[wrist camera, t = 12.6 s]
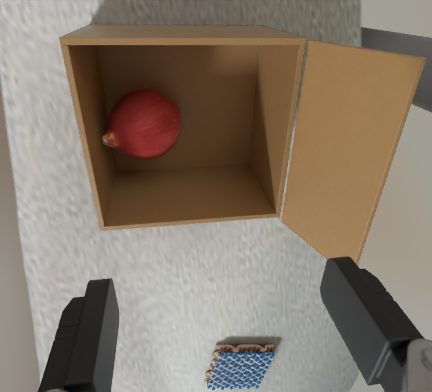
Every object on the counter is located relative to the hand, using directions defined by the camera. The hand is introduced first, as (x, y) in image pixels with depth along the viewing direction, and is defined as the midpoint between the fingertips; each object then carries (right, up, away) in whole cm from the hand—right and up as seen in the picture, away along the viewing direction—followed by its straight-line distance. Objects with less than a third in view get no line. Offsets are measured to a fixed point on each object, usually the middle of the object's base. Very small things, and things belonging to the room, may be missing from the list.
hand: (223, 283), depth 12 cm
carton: (-4, +12, +19) cm, 23 cm away
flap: (+7, +5, +9) cm, 12 cm away
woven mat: (+4, -25, +44) cm, 50 cm away
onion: (-4, +11, +18) cm, 22 cm away
